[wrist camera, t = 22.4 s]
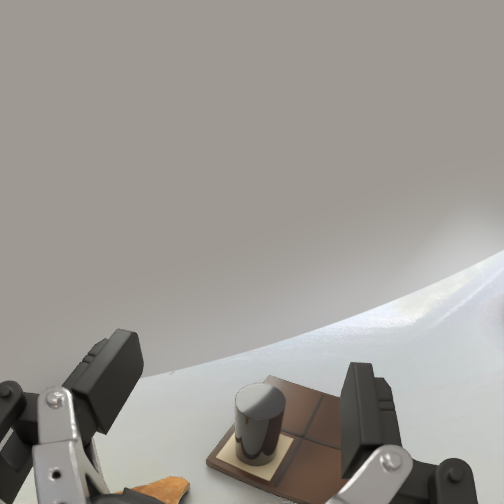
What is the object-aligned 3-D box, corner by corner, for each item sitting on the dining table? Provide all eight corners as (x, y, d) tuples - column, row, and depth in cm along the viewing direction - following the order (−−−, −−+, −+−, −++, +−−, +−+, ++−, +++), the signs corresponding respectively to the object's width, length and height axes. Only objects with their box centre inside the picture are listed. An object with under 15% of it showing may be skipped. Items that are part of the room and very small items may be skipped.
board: (206, 464, 30) (205, 459, 29) (268, 380, 43) (268, 373, 42) (343, 516, 23) (347, 512, 23) (378, 413, 36) (381, 407, 36)
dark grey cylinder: (227, 456, 30) (225, 407, 26) (247, 428, 34) (249, 376, 30) (265, 472, 28) (273, 427, 24) (283, 442, 32) (293, 392, 28)
